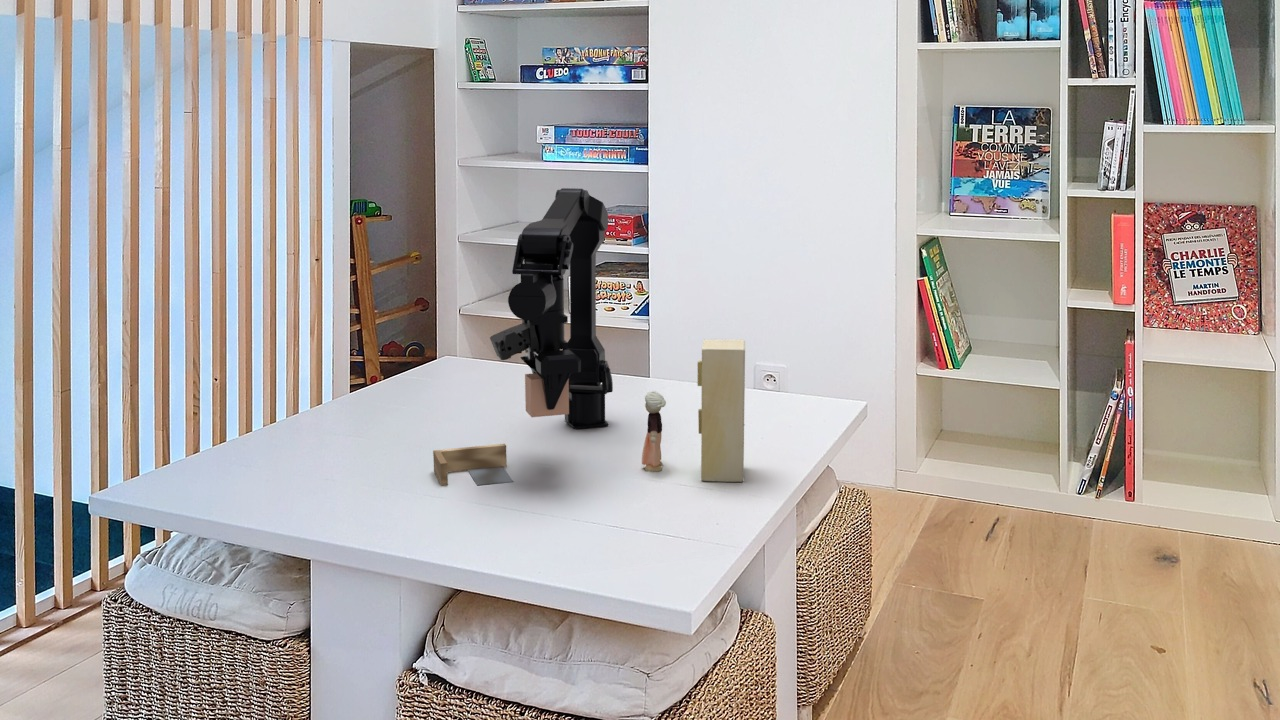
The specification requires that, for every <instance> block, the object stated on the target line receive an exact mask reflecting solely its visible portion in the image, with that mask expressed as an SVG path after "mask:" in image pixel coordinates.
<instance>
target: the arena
mask: <svg viewBox="0 0 1280 720" xmlns="http://www.w3.org/2000/svg"><path fill="white" fill-rule="evenodd" d="M432 456H433V472H434V474H435V476H436V478H437V480H438V482H439V483H440V486H448V485H449V484H448V483H449V481H448V480H449V479H448V473H454V472H464V471H468V473H469V475H470V476H471V478H472V479H473V481H474V482H475V484H476V486H478V487H479V486H486V485H487V486H489V485H496V484H505V483H506V484H507V483H513V482H514V480H513V479H512V477H511V475H509V473H508V472H507V470H506V469H505V468H504V467H507V465H508V464H507V463H508V462H507V459H508V458H507V457H508V456H507V444H505V443H498V444H497V443H496V444H488V445H487V444H486V445H475V446H467V447H466V446H465V447H457V448H447V449H444V448H443V449H435V450H433V451H432Z"/></svg>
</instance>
